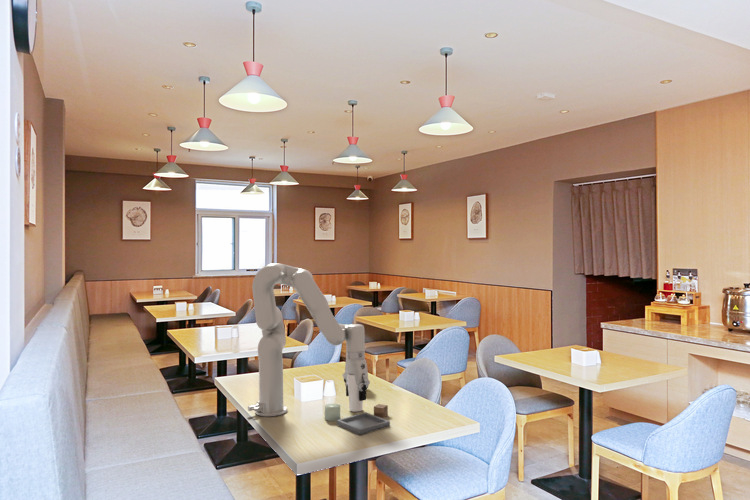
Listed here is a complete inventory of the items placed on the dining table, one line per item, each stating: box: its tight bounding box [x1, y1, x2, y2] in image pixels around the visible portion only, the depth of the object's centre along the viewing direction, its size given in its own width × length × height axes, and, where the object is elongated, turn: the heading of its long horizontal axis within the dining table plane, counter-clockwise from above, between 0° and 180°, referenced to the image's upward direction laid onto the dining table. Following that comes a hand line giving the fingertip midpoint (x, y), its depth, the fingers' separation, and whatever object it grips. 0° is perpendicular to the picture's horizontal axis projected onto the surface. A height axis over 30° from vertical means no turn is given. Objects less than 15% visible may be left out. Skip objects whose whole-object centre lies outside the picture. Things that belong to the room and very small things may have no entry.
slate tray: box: [336, 412, 391, 436], centre depth 186 cm, size 14×14×2 cm
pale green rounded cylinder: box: [324, 403, 341, 422], centre depth 194 cm, size 6×6×5 cm
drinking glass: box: [347, 374, 364, 413], centre depth 204 cm, size 7×7×15 cm
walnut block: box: [373, 403, 389, 419], centre depth 197 cm, size 4×4×4 cm
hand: (356, 397), depth 204 cm, fingers open, 8 cm apart
